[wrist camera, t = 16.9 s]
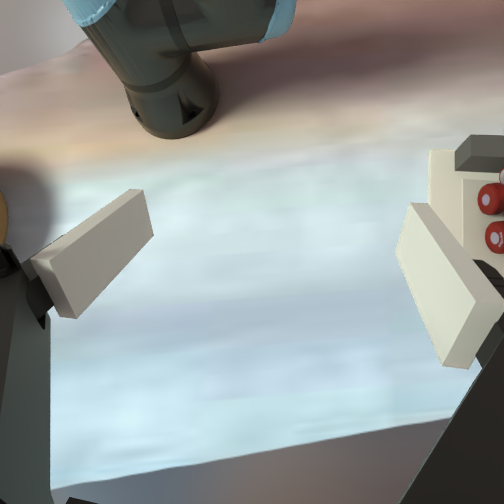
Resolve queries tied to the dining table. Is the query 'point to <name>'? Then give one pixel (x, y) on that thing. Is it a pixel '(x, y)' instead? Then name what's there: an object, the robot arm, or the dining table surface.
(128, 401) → the dining table surface
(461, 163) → the grey rectangular block
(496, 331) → the robot arm
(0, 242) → the steamer basket
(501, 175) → the red toy car
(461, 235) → the mat
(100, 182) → the dining table surface
